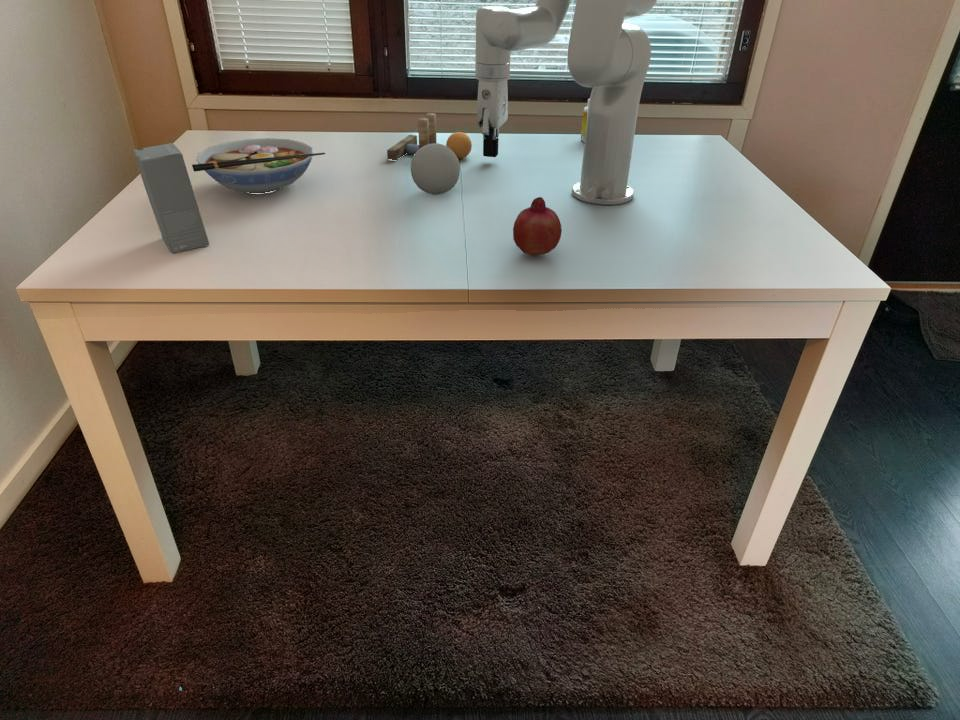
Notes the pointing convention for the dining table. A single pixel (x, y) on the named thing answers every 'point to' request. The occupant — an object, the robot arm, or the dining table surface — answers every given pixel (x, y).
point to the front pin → (412, 148)
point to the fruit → (537, 229)
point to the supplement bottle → (584, 122)
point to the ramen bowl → (256, 163)
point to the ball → (435, 169)
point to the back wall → (401, 147)
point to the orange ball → (459, 144)
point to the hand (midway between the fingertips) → (490, 155)
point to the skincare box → (171, 196)
